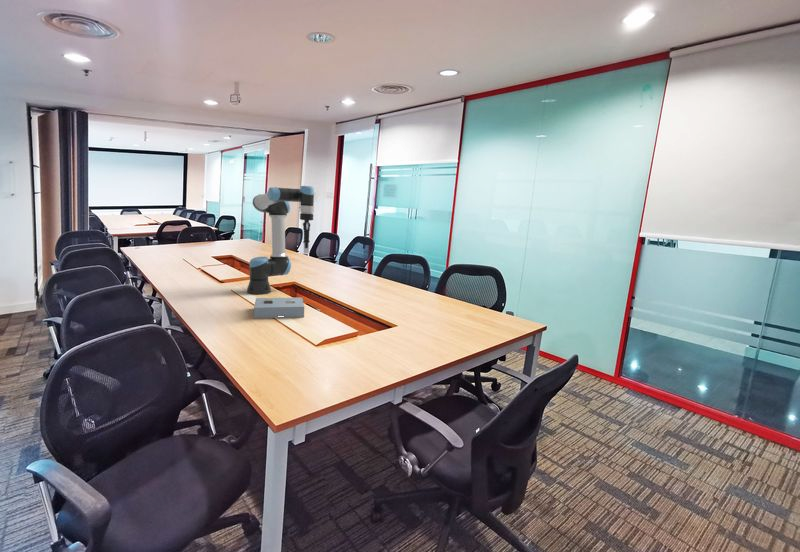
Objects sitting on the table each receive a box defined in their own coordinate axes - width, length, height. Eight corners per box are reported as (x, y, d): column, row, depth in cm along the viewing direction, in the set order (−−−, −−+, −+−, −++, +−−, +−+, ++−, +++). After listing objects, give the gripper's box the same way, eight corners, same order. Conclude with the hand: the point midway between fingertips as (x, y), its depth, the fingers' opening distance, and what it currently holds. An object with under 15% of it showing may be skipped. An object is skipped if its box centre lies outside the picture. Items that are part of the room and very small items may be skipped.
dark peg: (264, 310, 224) (264, 300, 223) (272, 310, 226) (272, 300, 224) (264, 313, 221) (264, 302, 219) (272, 312, 222) (272, 302, 221)
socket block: (256, 308, 231) (256, 298, 229) (302, 307, 238) (302, 297, 237) (254, 318, 212) (254, 307, 211) (304, 317, 219) (304, 306, 218)
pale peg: (286, 310, 228) (286, 300, 227) (294, 310, 229) (294, 300, 228) (286, 312, 224) (286, 302, 223) (294, 312, 225) (294, 302, 224)
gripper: (299, 212, 235) (299, 251, 239) (300, 213, 223) (300, 254, 227) (312, 212, 237) (311, 251, 242) (314, 214, 225) (313, 255, 229)
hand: (306, 253), depth 234 cm, fingers closed
